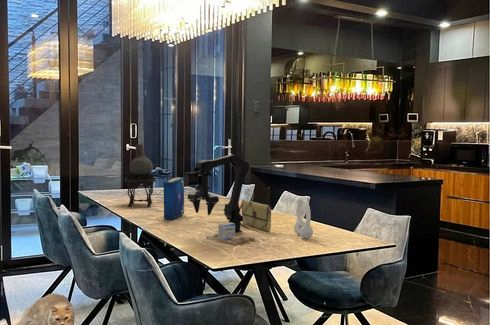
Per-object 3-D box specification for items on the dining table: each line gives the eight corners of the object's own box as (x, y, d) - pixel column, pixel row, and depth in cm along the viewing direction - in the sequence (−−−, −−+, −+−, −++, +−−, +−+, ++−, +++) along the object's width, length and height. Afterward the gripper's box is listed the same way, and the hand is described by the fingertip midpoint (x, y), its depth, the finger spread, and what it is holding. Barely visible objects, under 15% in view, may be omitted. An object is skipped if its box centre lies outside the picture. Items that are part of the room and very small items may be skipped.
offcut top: (243, 238, 240) (243, 234, 240) (249, 240, 236) (249, 236, 236) (231, 240, 236) (231, 236, 236) (237, 242, 232) (237, 238, 232)
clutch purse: (234, 224, 283) (234, 199, 282) (244, 223, 287) (244, 198, 286) (263, 234, 258) (263, 207, 257) (273, 232, 262) (273, 205, 261)
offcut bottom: (241, 242, 241) (241, 238, 240) (248, 244, 237) (248, 240, 237) (232, 244, 235) (232, 240, 235) (239, 246, 232) (239, 242, 232)
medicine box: (224, 242, 238) (224, 225, 238) (218, 241, 241) (218, 224, 241) (235, 239, 244) (235, 223, 243) (229, 238, 247) (229, 222, 246)
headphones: (304, 232, 262) (305, 197, 261) (314, 240, 244) (315, 202, 243) (292, 233, 261) (293, 197, 260) (301, 241, 243) (302, 202, 242)
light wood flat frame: (225, 235, 253) (225, 231, 253) (254, 242, 239) (255, 238, 239) (206, 239, 243) (206, 236, 243) (235, 247, 229) (235, 243, 229)
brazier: (149, 208, 338) (149, 145, 335) (119, 206, 341) (119, 144, 338) (160, 203, 360) (160, 144, 357) (132, 202, 364) (131, 143, 360)
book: (173, 220, 292) (173, 180, 290) (162, 220, 294) (162, 180, 292) (184, 214, 313) (184, 177, 311) (174, 214, 315) (174, 176, 313)
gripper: (179, 184, 249) (179, 213, 250) (203, 187, 236) (203, 218, 238) (195, 182, 257) (195, 211, 258) (219, 185, 245) (219, 215, 246)
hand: (202, 214), depth 250 cm, fingers open, 9 cm apart
